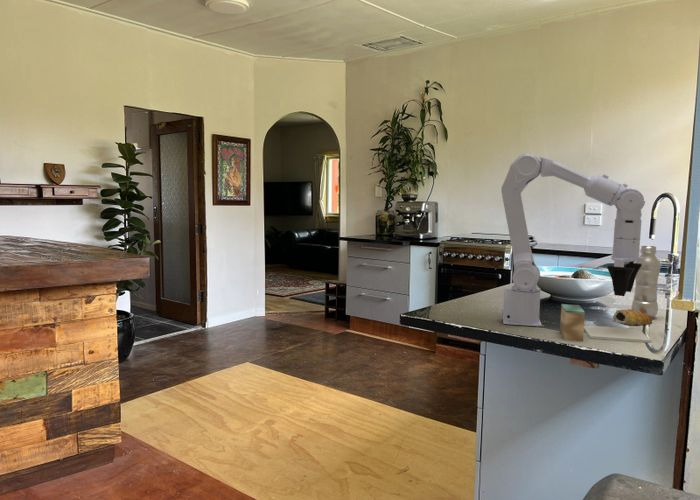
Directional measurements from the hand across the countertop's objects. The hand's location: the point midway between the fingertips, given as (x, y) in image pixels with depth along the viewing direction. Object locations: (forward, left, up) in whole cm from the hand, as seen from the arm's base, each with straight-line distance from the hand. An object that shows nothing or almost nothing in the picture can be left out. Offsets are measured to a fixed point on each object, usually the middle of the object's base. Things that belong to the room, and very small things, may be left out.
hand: (622, 293), depth 128 cm
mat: (-2, -3, -10) cm, 10 cm away
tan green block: (-12, -8, -10) cm, 18 cm away
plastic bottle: (+11, +20, -10) cm, 25 cm away
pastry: (+5, +12, -10) cm, 17 cm away
